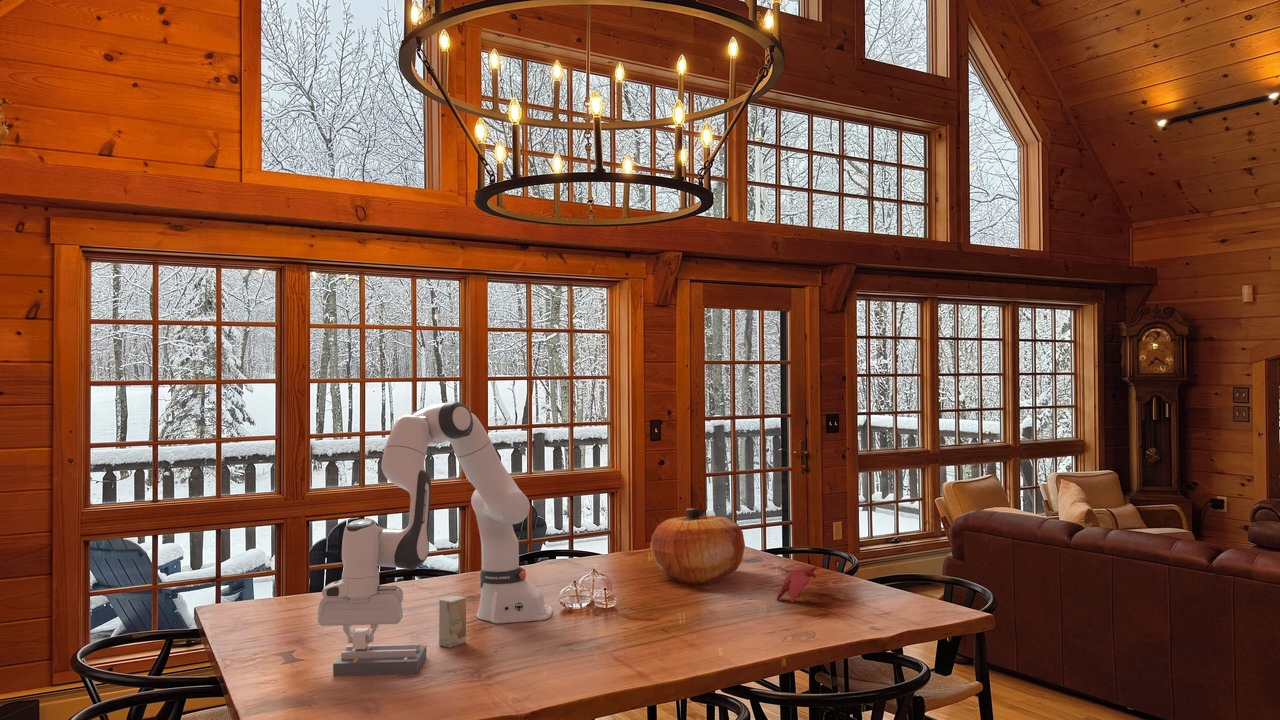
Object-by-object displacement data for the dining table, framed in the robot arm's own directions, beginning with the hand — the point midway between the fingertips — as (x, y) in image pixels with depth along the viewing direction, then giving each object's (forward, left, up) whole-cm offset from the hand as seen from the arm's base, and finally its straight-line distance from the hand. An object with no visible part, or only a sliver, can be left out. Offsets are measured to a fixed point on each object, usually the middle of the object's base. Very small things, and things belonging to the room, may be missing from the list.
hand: (360, 642), depth 215 cm
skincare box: (-20, -17, -6) cm, 27 cm away
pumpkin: (-95, -85, -6) cm, 128 cm away
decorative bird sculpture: (-122, -51, -6) cm, 132 cm away
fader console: (-5, 0, -6) cm, 8 cm away
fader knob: (0, 0, -3) cm, 3 cm away
